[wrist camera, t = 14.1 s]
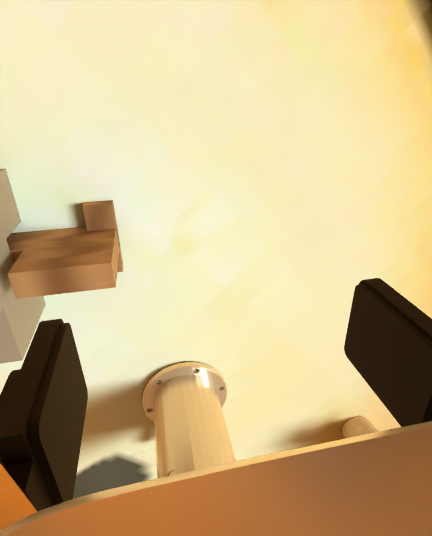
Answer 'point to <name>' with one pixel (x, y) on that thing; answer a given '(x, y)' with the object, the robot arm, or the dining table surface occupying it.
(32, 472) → the robot arm
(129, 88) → the dining table surface
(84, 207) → the walnut slotted stand
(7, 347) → the grey slotted plate
